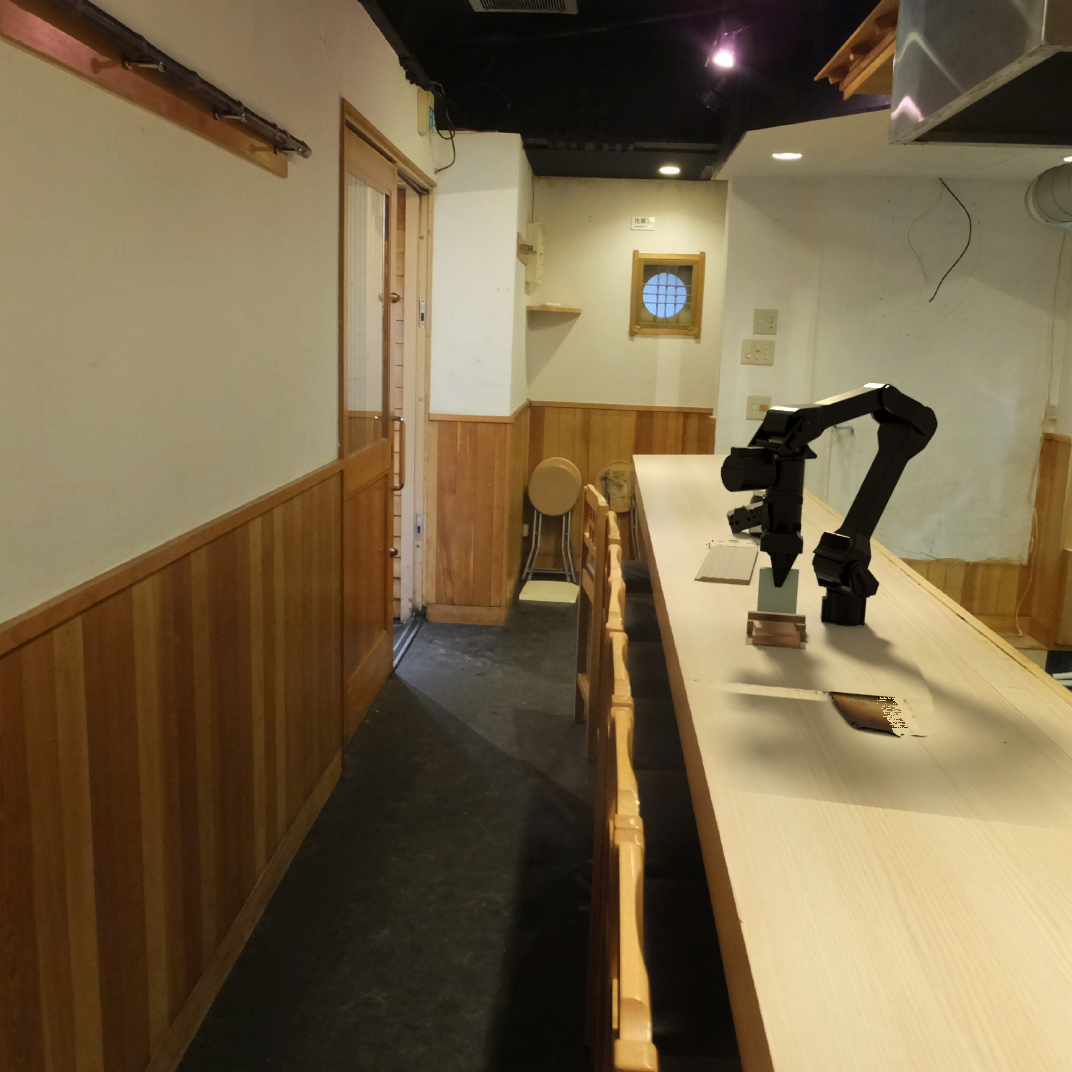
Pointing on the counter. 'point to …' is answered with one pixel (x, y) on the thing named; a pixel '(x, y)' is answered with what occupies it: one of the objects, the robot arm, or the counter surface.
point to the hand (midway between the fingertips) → (778, 585)
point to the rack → (777, 617)
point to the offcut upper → (774, 628)
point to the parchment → (866, 710)
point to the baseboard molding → (728, 564)
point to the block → (777, 592)
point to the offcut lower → (777, 640)
